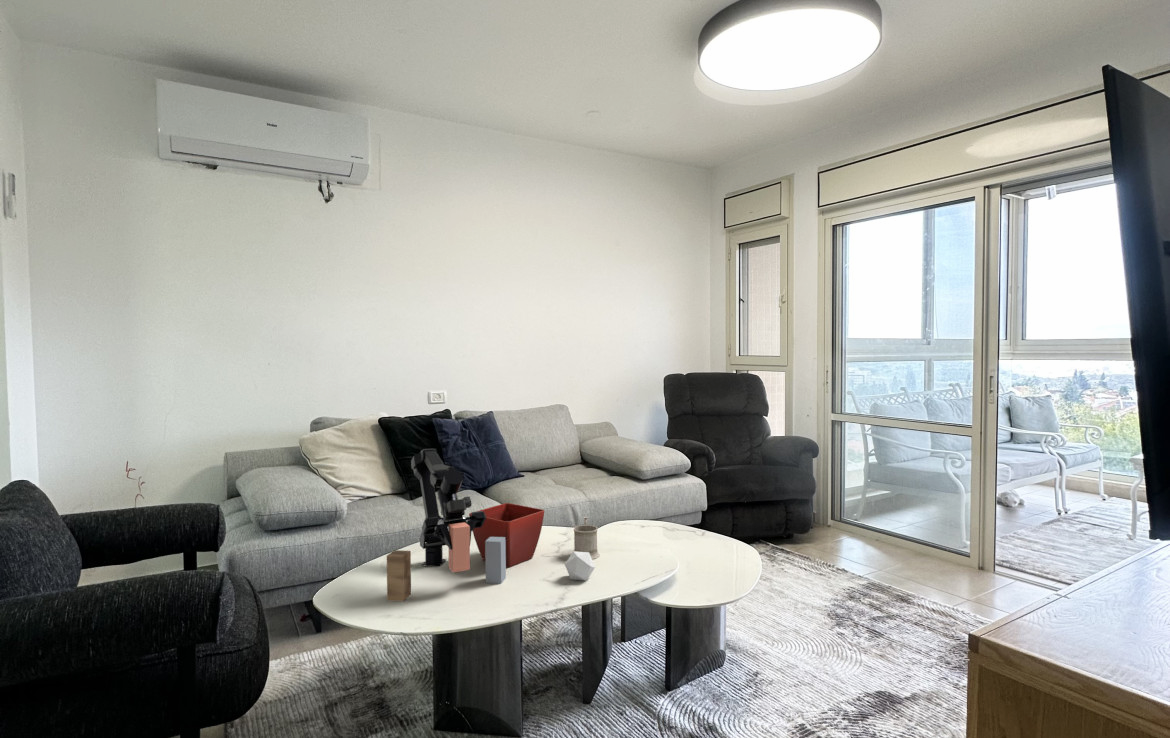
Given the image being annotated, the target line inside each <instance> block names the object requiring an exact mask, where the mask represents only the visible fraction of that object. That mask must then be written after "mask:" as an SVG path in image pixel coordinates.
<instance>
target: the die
mask: <svg viewBox="0 0 1170 738" xmlns="http://www.w3.org/2000/svg"><path fill="white" fill-rule="evenodd" d="M564 567H565V568H566V570H567V571H566V572H567V574H568V577H569V578H570V580H574V581H584V582H587V581H588V580H589V578H590V577H591V575H592V573H593V572H594V570H595V568H596V566H595V564H594V561H593V560H592V558H591V556H590V553H589V552H576V551H574V550H573V551H572V552H571V554H570V556H569V557H568V558H567V560H566V562H565V563H564Z"/></svg>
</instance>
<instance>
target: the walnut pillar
mask: <svg viewBox="0 0 1170 738" xmlns="http://www.w3.org/2000/svg"><path fill="white" fill-rule="evenodd" d="M411 554H412V553H411V550H396V549H395V550H393V551H391V552H389V553H388V554H387V555H386V601H389V602H391V601H395V602H405V601H406V600H407V599H408V598H409V597H411V595H412V564H411V562H412V560H411V558H412V555H411Z"/></svg>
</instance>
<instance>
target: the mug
mask: <svg viewBox="0 0 1170 738" xmlns="http://www.w3.org/2000/svg"><path fill="white" fill-rule="evenodd" d="M582 518H584V524H582V525H576V526H574V527H573V532H574V533H573V534H574V535H573V536H574V537H573V539H574V544H573V545H574V546H573V548H574V550H573V551H576V552H589V553H590V556H591V558H592V561H593V560H597V559H598V558H600V557H601V554H600V553H599V550H598V527H597V526H595V525H588V518H589V516H583V517H582Z"/></svg>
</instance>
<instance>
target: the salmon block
mask: <svg viewBox="0 0 1170 738" xmlns="http://www.w3.org/2000/svg"><path fill="white" fill-rule="evenodd" d="M448 531H449V536H450V539H451V542H452V547H453V548H452V550H450V548H449V547H448V569H449V570H451V572H452V573H458V572H464V571H470V568H471V565H470V564H471V560H470V559H471V553H470V552H471V549H470V547H471V542H470V526H469V525H468V524H466V523H465V522H464V523H456V524H449V527H448Z"/></svg>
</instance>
